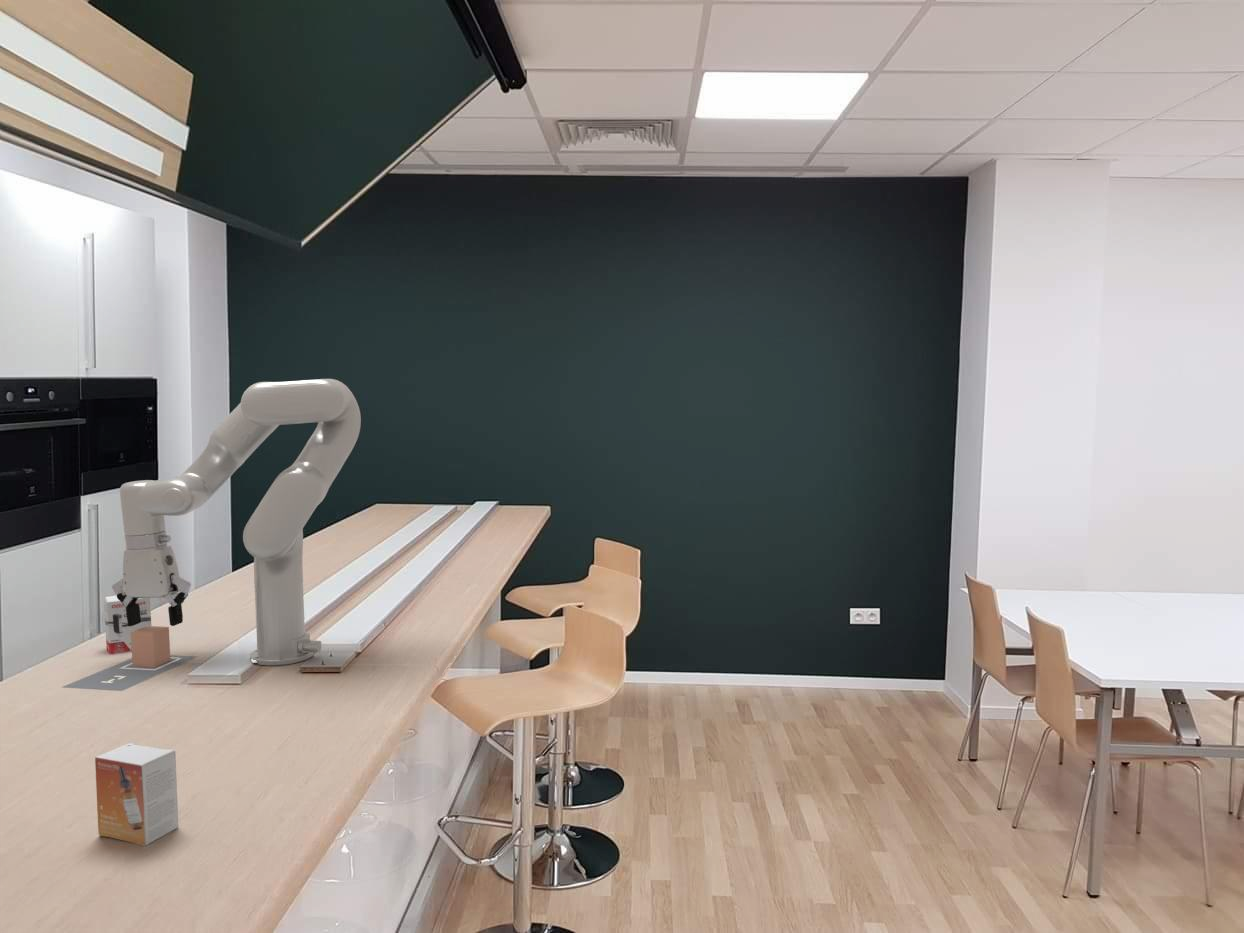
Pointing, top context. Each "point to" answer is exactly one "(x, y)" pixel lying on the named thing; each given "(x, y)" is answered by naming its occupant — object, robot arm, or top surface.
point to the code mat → (125, 675)
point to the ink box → (123, 623)
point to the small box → (136, 793)
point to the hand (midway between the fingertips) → (155, 624)
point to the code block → (150, 646)
